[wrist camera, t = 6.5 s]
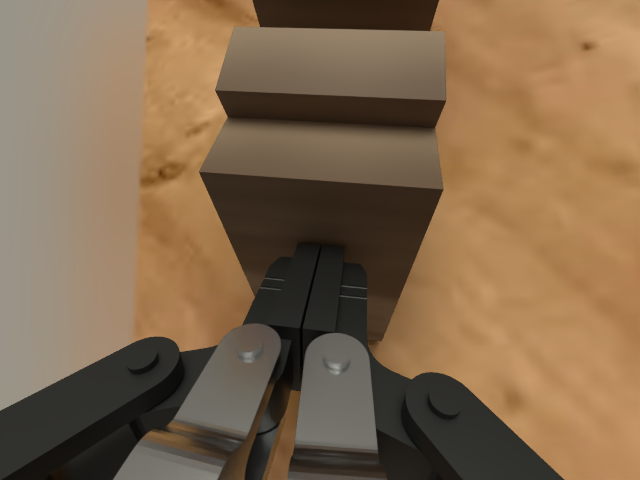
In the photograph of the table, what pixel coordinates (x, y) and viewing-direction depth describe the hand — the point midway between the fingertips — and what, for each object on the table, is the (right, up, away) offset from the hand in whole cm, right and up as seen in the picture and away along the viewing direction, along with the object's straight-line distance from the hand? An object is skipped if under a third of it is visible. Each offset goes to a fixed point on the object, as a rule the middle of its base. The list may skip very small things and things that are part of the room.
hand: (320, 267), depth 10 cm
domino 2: (+1, +2, +9) cm, 9 cm away
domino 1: (0, -3, +7) cm, 8 cm away
